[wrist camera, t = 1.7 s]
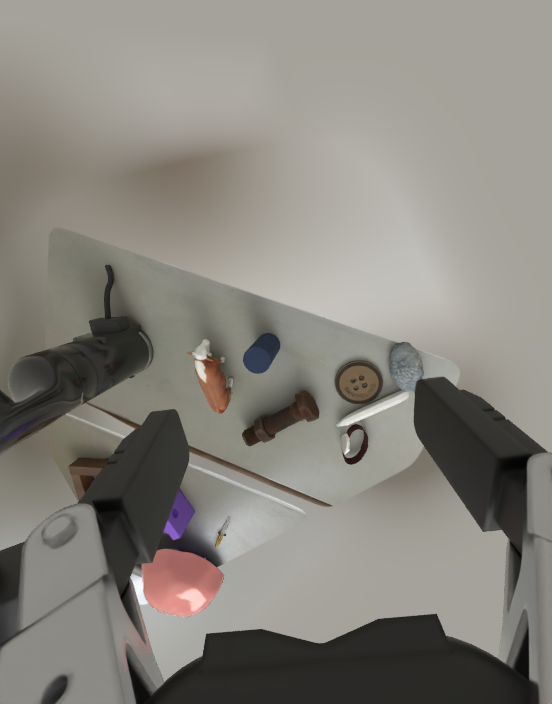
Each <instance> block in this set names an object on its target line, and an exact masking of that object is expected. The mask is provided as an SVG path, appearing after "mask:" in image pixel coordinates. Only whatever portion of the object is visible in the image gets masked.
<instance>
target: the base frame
mask: <svg viewBox="0 0 552 704" xmlns="http://www.w3.org/2000/svg"><path fill="white" fill-rule="evenodd" d="M107 461H108V460H107V459H88V458H78V459H77V460H76V461H74V462H73V463H72V464H71V465H69V466H68V467H69V470H70V473H71V476H72V479H73V483H74V486H75V489H76V492H77V495H78V498H79V501H80V499H81V498H82V497H83V495H84V494H85V492H86V491H87V490H88V488H89V487H90V485H91V484H92V482H93V477H92V476H97V475H98V474H99V473H100V471H101V470H102V468H103V467H104V466H105V465H107Z"/></svg>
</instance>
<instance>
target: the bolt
mask: <svg viewBox="0 0 552 704" xmlns="http://www.w3.org/2000/svg"><path fill="white" fill-rule="evenodd" d="M295 396H296V402H294V403H292V405H290V406H288V407H286V408H285V409H283V410H281V411H279V412H277V413H275V414H274V415H272V416H270V417H268V418H267V417H265V416H264V417H260V418H258V419H256V420H255V421H254V426H252V427H250V428H248V429H246V430H244V432H243V433H242V437H243V439H244V441H245V443H246V445H248V446H252V445H254V444H256V443H258V442H260V441H262V442H267V441H270V440H272V439H274V438H275V434H276V433H277V432H279V431H281V430H283V429H285V428H287V427H288V426H290V425H292V424H295V423H296V422H298V421H302V420H304V419H306V420H307V422H309V421H314V420H316V419H318V418H319V409H318V407H317V405H316V403H315V401H314V399H313V397H312V396H311V395H310V394H309V393H307V392H306V391H303V392H300V393H298V394H296V395H295Z"/></svg>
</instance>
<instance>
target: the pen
mask: <svg viewBox="0 0 552 704" xmlns="http://www.w3.org/2000/svg"><path fill="white" fill-rule="evenodd" d="M409 395H410V391H405V390H402V391H398V392H396V393H394V394H392V395H389V396H387V397H385V398H382V399H380V400H378V401H376V402H373V403H371V404H369V405H366V406H364V407H362V408H360V409H358V410H356V411H354V412H353V413H351V414H349V415H347V416H345V417H344V418H343V419H341V420H340V421H339V422H338V423H337V425H336V426H346V425H350V424H352V423H354V422H357V421H359V420H362V419H364V418H366V417H369V416H371V415H373V414H376V413H378V412H380V411H382V410H385V409H387V408H389V407H392V406H394V405H396V404H398V403H400V402H402V401H404V400H406V399H407V398H408V397H409Z"/></svg>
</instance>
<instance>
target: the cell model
mask: <svg viewBox="0 0 552 704" xmlns="http://www.w3.org/2000/svg"><path fill="white" fill-rule="evenodd" d="M141 565H142V582H143V592H144V596H145V599H146V600H147V602H148V603H149V604H150V606H152V607H153V608H155V609H157V611H159V612H160V613H163V614H168V615H176V616H178V617H190V616H192V615H194V614H196V613H198V612H200V611H202V610H203V609H205V608H206V607H207V606H208V605H209V604H210V603H211V601H212V600H213V598H214V597H215V595H216V594H217V592H218V591H219V589H220V587H221V585H222V582H223V579H224V574H223V573H222V572H221V571H220V570H219V569H218V568H216V567H215V566H214V565H213V564H212V563H210V562H209V561H207V560H206V557H203V558H202V557H200V556H198V555H195V554H193V553H188V552H182V551H178V549H177V548H173V549H161V550H157V551H156V554H155V557H154V560H153V562H152V563H145V564H141Z"/></svg>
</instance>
